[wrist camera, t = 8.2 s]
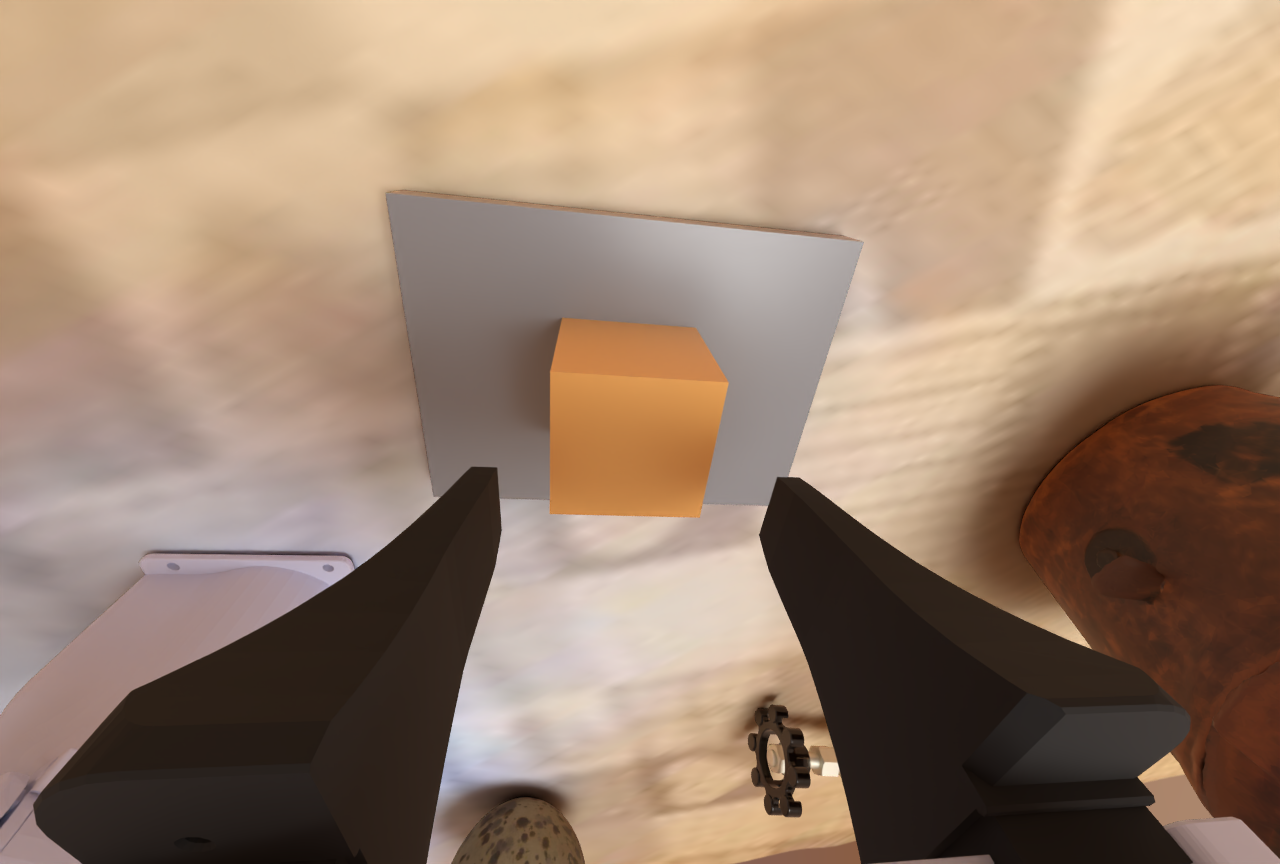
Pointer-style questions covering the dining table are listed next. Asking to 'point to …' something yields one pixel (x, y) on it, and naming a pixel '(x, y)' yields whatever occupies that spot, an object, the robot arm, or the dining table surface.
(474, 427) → the plate
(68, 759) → the robot arm
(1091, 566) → the brown tapered pot
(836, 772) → the valve
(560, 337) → the light orange cube
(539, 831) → the decorative egg
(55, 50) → the dining table surface
